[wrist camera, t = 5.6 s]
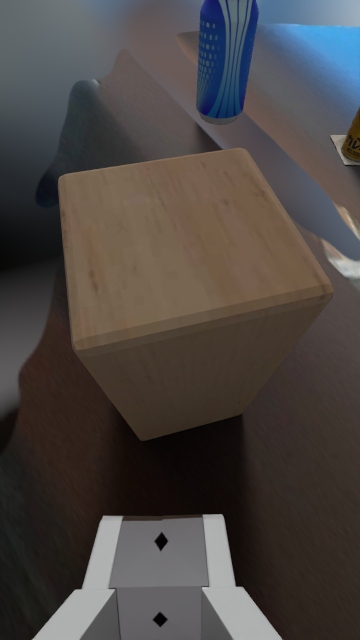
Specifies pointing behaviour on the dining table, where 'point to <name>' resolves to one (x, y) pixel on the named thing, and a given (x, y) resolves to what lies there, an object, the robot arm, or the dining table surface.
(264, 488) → the dining table surface
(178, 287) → the wooden block
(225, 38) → the beer can
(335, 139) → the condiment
